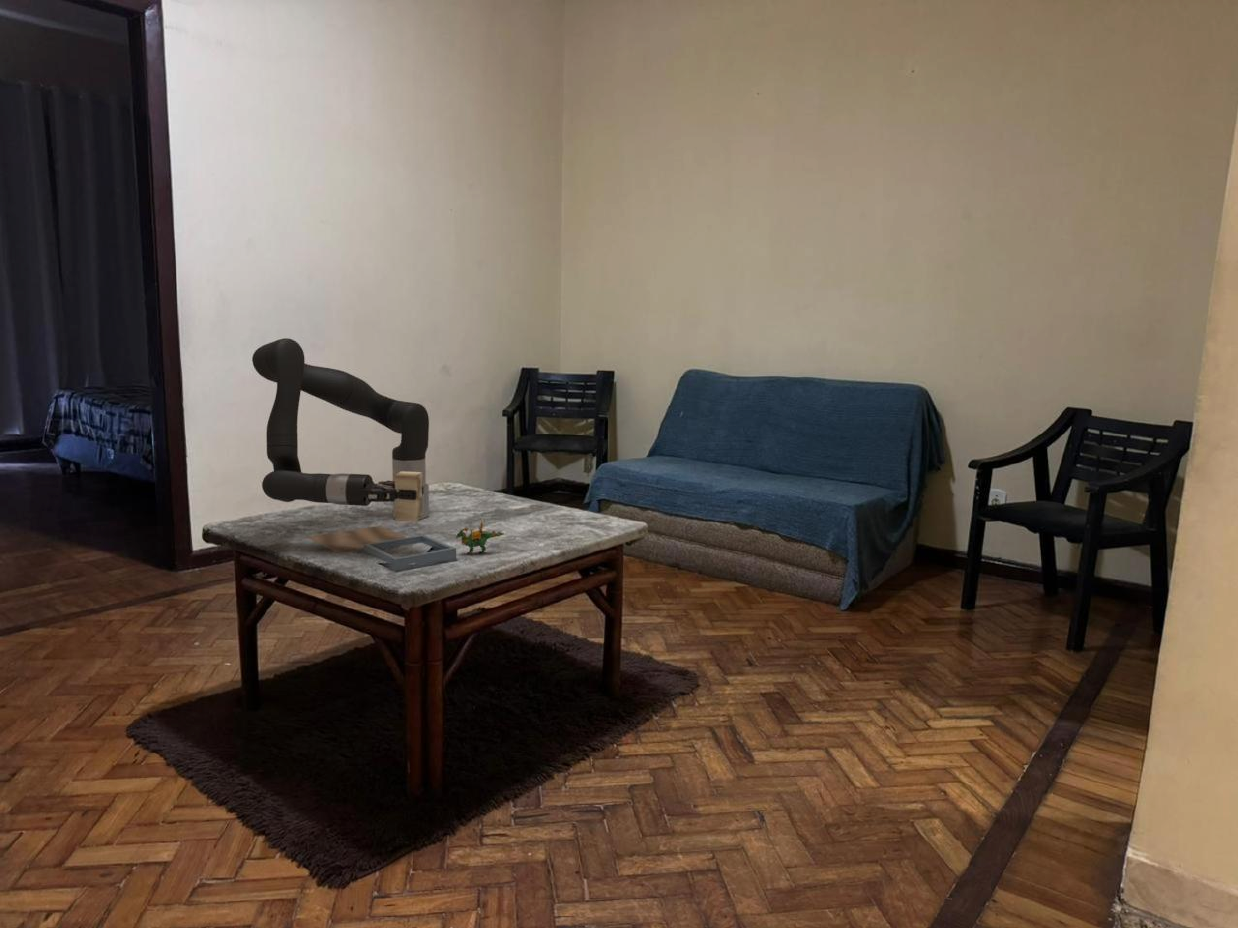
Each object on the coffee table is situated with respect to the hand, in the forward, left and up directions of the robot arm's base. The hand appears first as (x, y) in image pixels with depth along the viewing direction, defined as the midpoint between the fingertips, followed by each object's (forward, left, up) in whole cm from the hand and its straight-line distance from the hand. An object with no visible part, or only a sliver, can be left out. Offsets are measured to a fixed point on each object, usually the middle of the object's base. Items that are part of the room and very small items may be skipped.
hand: (419, 492), depth 207 cm
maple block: (+2, -2, -6) cm, 7 cm away
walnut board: (+6, -21, -16) cm, 27 cm away
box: (+2, -2, -16) cm, 16 cm away
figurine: (-14, +4, -17) cm, 22 cm away
